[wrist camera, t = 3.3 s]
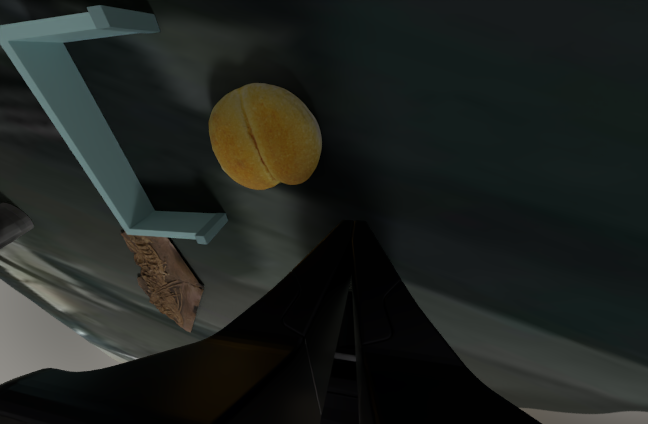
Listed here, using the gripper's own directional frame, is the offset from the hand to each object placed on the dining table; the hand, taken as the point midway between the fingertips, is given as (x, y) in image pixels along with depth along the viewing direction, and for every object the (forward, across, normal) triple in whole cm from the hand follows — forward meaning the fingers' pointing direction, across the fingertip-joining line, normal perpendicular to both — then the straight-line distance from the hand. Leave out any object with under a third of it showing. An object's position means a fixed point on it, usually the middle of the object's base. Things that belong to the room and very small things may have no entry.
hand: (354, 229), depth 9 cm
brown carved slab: (+13, +28, +22) cm, 38 cm away
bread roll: (+12, +8, 0) cm, 15 cm away
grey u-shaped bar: (+12, +20, 0) cm, 23 cm away
